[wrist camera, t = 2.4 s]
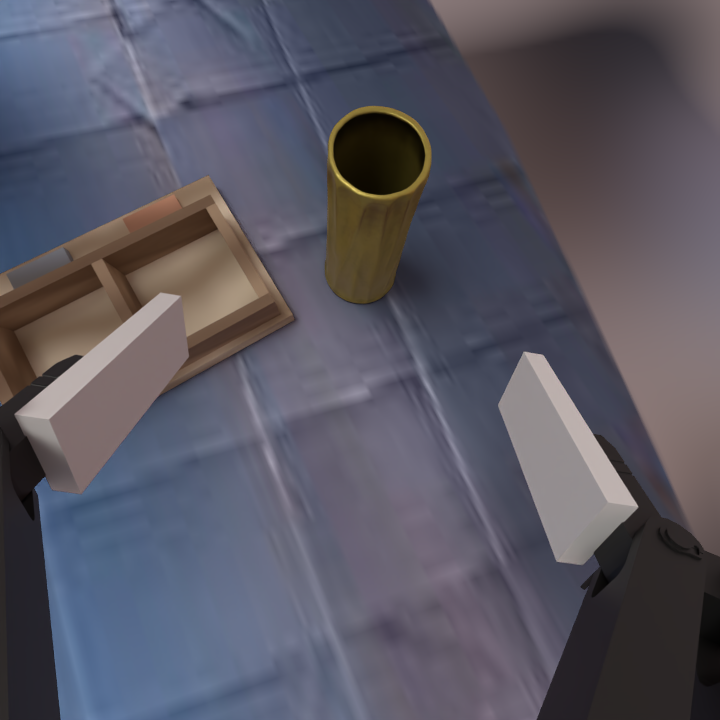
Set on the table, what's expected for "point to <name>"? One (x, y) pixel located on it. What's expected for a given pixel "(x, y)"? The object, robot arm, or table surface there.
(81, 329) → the tray
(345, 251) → the vase
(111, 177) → the table surface
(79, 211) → the table surface
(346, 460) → the table surface
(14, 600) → the robot arm
